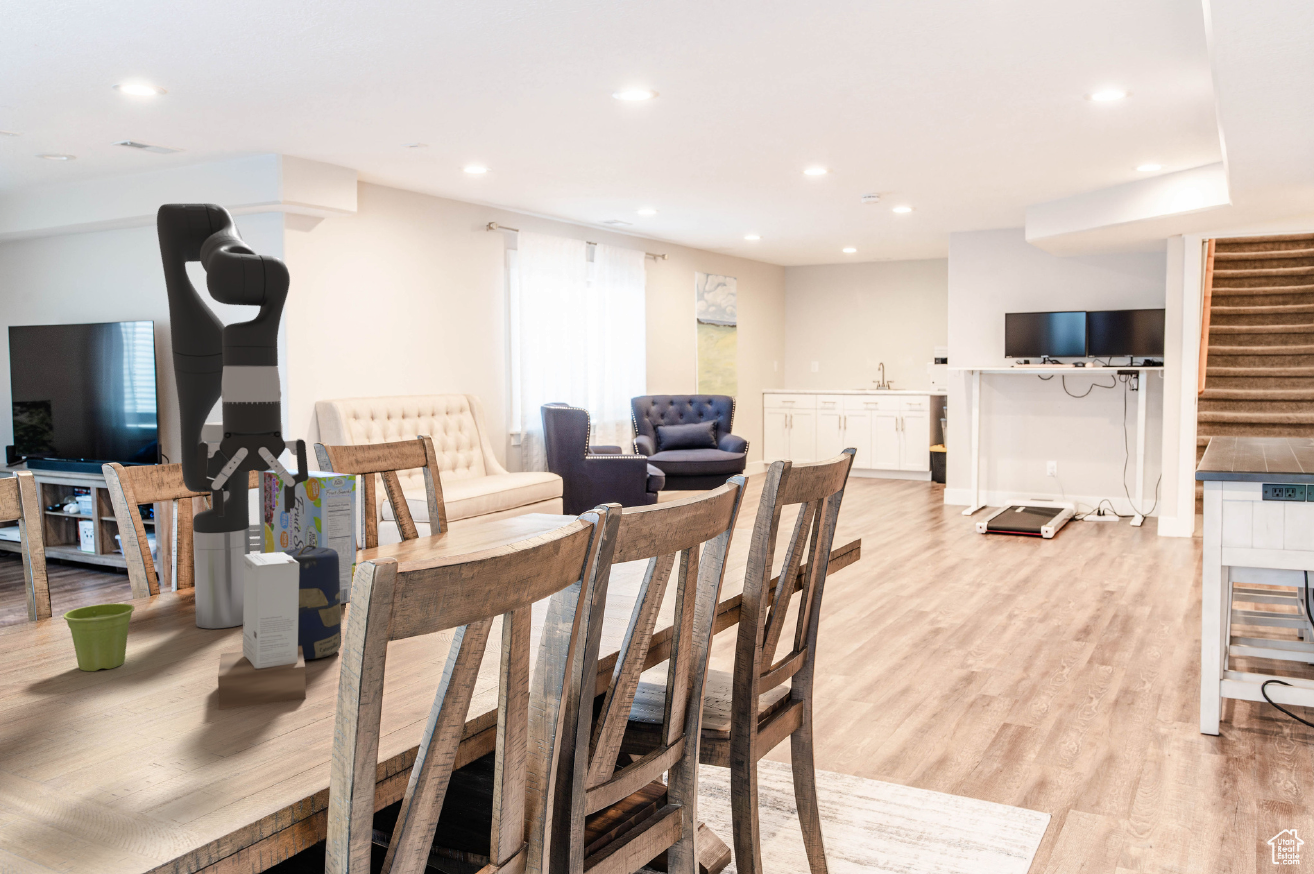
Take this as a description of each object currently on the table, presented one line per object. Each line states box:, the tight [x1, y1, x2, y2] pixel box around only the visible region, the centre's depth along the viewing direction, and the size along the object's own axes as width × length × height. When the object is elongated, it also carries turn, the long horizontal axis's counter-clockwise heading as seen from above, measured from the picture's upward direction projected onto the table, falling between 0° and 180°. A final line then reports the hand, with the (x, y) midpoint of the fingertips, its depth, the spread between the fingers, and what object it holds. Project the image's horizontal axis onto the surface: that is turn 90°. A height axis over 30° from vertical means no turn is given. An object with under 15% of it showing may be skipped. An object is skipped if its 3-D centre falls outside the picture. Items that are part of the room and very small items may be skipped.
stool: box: [201, 421, 284, 554], centre depth 199 cm, size 16×16×35 cm
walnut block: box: [217, 646, 307, 711], centre depth 132 cm, size 11×11×5 cm
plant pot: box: [63, 603, 135, 672], centre depth 144 cm, size 9×9×9 cm
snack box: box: [264, 468, 357, 605], centre depth 188 cm, size 22×9×26 cm, turn 52°
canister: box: [284, 545, 342, 661], centre depth 149 cm, size 10×10×18 cm
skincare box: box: [242, 552, 299, 669], centre depth 132 cm, size 8×6×15 cm
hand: (254, 514), depth 130 cm, fingers open, 8 cm apart
